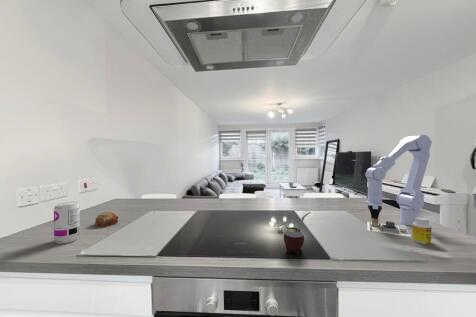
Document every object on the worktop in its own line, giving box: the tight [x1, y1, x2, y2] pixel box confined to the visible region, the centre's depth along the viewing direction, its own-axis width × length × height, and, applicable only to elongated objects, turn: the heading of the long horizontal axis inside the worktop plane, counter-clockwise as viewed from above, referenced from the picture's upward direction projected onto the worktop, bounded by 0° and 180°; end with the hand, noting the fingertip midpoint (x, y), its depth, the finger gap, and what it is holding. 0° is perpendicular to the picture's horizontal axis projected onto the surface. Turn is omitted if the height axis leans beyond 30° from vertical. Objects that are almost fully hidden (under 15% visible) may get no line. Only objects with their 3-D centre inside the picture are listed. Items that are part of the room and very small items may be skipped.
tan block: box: [371, 218, 379, 227], centre depth 98 cm, size 3×2×3 cm
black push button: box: [385, 220, 396, 228], centre depth 92 cm, size 3×3×2 cm
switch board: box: [366, 221, 412, 238], centre depth 95 cm, size 14×15×3 cm
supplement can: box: [53, 201, 81, 245], centre depth 86 cm, size 8×8×15 cm
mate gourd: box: [283, 211, 312, 257], centre depth 75 cm, size 8×8×15 cm
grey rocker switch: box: [398, 223, 408, 232], centre depth 91 cm, size 4×2×1 cm, turn 149°
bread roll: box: [94, 211, 119, 228], centre depth 106 cm, size 10×10×8 cm
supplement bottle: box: [411, 216, 432, 245], centre depth 81 cm, size 6×6×10 cm
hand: (374, 221), depth 101 cm, fingers closed
